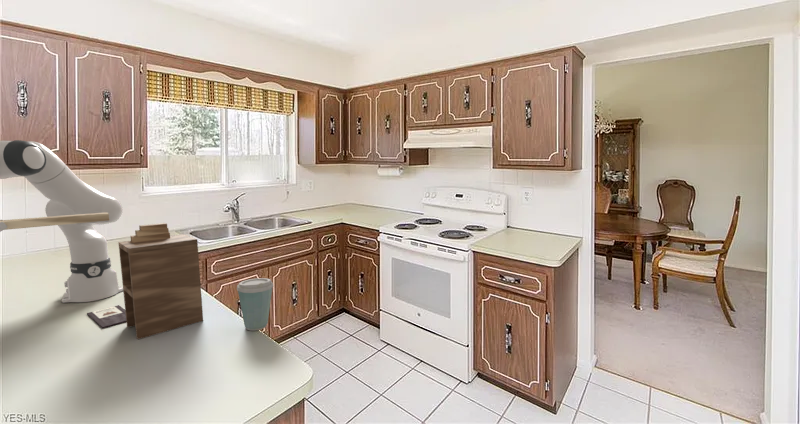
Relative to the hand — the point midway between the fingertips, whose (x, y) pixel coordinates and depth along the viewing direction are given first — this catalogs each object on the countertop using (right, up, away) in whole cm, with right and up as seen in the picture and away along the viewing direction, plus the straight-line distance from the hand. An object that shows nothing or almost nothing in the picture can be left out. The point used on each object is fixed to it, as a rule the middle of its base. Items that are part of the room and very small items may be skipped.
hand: (5, 223), depth 93 cm
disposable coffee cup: (+52, -33, +26) cm, 67 cm away
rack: (+22, -33, +28) cm, 49 cm away
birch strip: (+6, -1, +6) cm, 8 cm away
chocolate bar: (+1, -33, +33) cm, 47 cm away
